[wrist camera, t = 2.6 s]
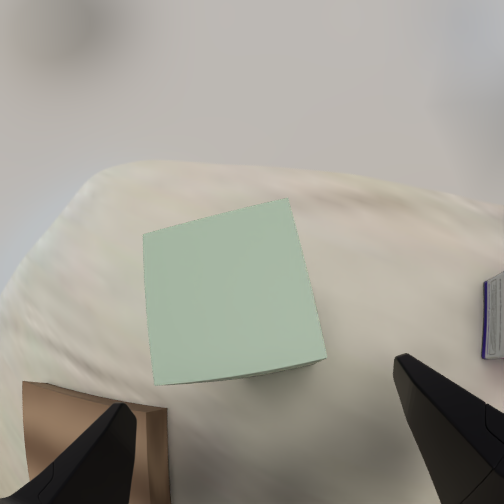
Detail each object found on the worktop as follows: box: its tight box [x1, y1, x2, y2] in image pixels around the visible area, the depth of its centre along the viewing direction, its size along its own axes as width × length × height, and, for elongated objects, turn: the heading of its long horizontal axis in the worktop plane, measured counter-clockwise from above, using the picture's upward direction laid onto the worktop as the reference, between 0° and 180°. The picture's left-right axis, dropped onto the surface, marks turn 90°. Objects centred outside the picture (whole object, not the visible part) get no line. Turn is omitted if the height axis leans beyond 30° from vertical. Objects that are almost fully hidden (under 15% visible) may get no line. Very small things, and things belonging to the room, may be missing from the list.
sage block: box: [143, 198, 327, 386], centre depth 13 cm, size 4×4×12 cm
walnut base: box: [22, 381, 171, 504], centre depth 15 cm, size 12×12×3 cm
